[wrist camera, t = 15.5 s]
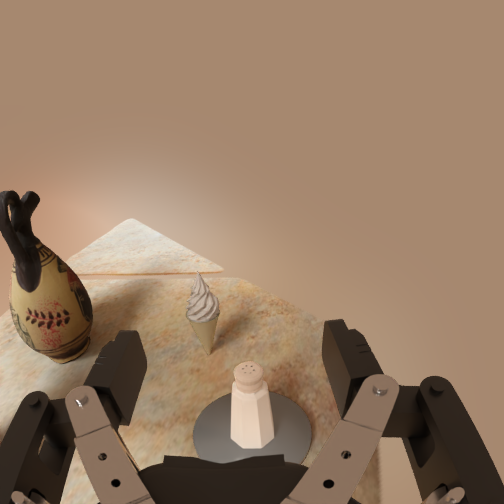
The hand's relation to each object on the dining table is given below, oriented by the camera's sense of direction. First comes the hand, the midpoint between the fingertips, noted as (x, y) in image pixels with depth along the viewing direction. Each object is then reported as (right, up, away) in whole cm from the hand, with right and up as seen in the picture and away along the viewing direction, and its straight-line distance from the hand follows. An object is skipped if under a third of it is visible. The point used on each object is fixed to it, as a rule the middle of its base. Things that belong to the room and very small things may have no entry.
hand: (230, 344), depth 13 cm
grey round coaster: (+1, -19, +20) cm, 27 cm away
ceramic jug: (-33, -14, +34) cm, 49 cm away
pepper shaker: (+1, -17, +19) cm, 26 cm away
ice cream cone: (-6, -13, +35) cm, 38 cm away
